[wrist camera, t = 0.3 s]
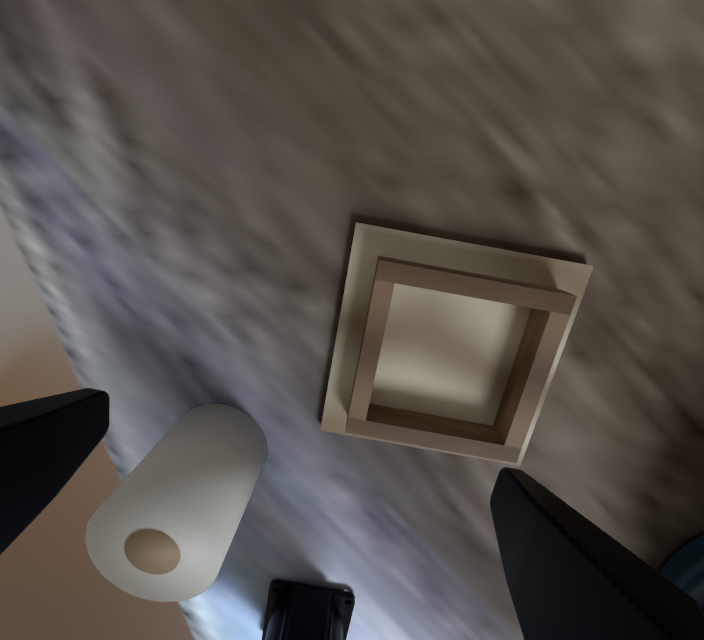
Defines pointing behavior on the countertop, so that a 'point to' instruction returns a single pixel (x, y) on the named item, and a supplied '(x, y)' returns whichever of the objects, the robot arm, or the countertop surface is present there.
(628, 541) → the countertop surface
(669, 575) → the canister
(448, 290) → the holder
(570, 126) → the countertop surface
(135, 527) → the towel roll
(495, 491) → the robot arm
